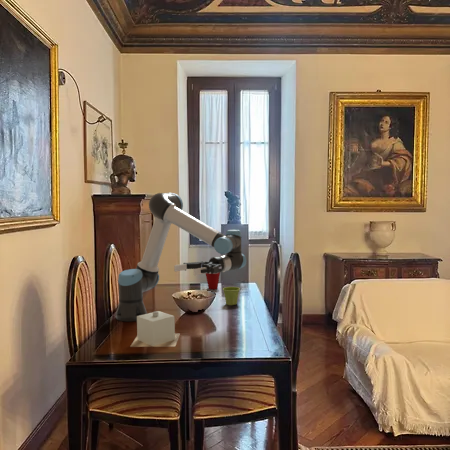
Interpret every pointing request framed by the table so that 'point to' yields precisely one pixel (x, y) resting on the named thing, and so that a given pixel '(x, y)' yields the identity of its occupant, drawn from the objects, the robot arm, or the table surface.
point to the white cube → (155, 328)
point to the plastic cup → (212, 280)
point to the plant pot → (231, 295)
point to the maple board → (168, 344)
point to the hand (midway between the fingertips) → (184, 270)
